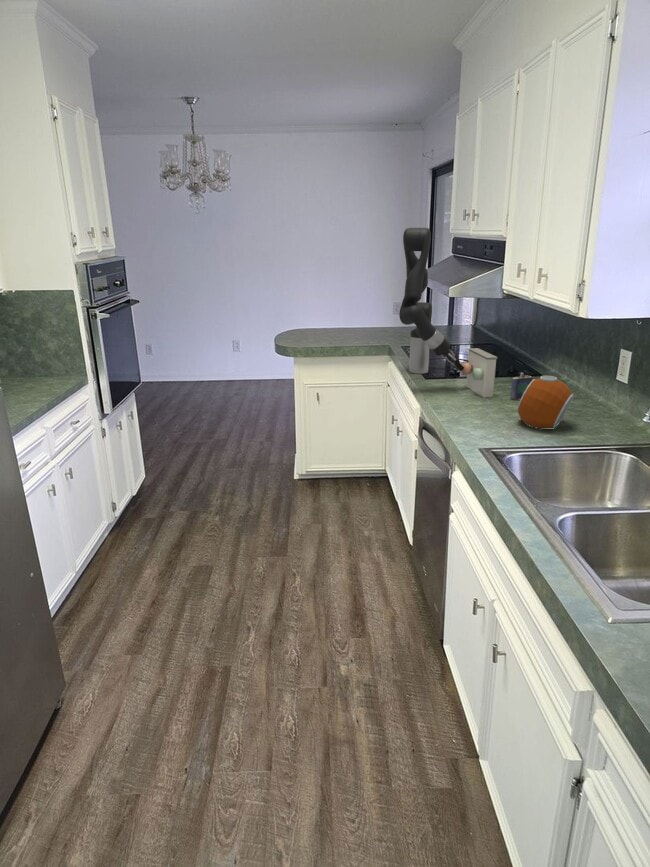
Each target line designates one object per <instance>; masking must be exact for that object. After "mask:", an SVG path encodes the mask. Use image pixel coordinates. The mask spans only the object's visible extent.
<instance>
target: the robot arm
mask: <svg viewBox="0 0 650 867" xmlns="http://www.w3.org/2000/svg"><path fill="white" fill-rule="evenodd" d="M431 233H432V232H431V230H430V228H428V227H407V228H406V229H404V231H403V235H402V236H403V237H402V239H403V240H402V241H403V242H402V243H403V244H402V245H403V251H404V256H405V258H404V259H405V265H406V267H405V268H406V269H405V270H406V272H405V273H406V280H405V287H404V297H403V299H402V302H401V305H400V308H399V320H400V322H401V323H402V324H403V325H405V326H406V325H407V326H409V325H412V324H414V325H415V326H416V328H414V329H412V330H411V331H410V339H409V340H410V343H409V344H410V345H409V365H408V366H409V367H408V371H409V373H411V374H418V375H419V374H421V375H422V374H427V373H428V372H429V364H430V350H431V351H432V353H433V354H434V355H436V356H437V357H440V356H442V357H443V358H444V359H446V361H447V362H448V363H449V364H452V365H453V366H455V368H457V370H459V372H461V371H462V370H463V369H464V367H463V366H462V363H461V361H460V360H459V358H458V356H457V355H456V354H454V352H453V350H451V349H450V346H451V342H449V340H448V339H447V338H446V337H445V336H444V335H443V334H442V333H441V332H440V330H438V329H437V328H436V327H435V326H434V325H433V324H432V317H433V316H432V314H433V305H432V303H430V302H420V300H422V295H423V292H424V291H425V290H426V289H427V287H428V284H429V274H428V269H427V264H428V258H429V254H430V253H429V252H430V249H431V242H432V241H431V240H432V234H431ZM416 252H420V255H419V258H418V256H417V255H416Z"/></svg>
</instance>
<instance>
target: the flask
mask: <svg viewBox="0 0 650 867" xmlns="http://www.w3.org/2000/svg"><path fill="white" fill-rule="evenodd" d="M519 374H520V375H519V376H515V377H511V385H510V386H511V389H510V396H509V398H510V400H512V399H513V400H514V399H517V400H520V399H519V398H521V397H522V395H523V393H524V392H525V390H526V388H527V387H528V385H529V384H530V382H531V381H532V380H533V377H532V376H531V375H528V374H527V375H526V374H525V375H524V372H520V373H519Z"/></svg>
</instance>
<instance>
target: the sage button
mask: <svg viewBox="0 0 650 867" xmlns="http://www.w3.org/2000/svg"><path fill="white" fill-rule="evenodd" d="M472 376H473V379H474V380H482V378H483V370H482V368H474V369H473V372H472Z"/></svg>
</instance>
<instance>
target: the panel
mask: <svg viewBox="0 0 650 867" xmlns="http://www.w3.org/2000/svg"><path fill="white" fill-rule="evenodd" d="M467 350H468V360H467V361H468V362H467V363H470V365H471V366H473V369H474V368H482V370H483V378H482V380H474V379H473V376H472V372H473V371H471V373H470V374H467V375H466V384H465V385H466V387H467V388H469V389H470V390H471V391H473V392H475V393H476V394H478V395H479V396H481V397H482V398H493V397H494V387H495V377H496V366H497V365H496V364H497V360H498V356H496V355H494V354H492V353H489V352H487V351H485V350H482V349H480V348H478V347H477V348H476V347H474V348H472V347H471V348H470V347H469V348H468V349H467Z"/></svg>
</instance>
